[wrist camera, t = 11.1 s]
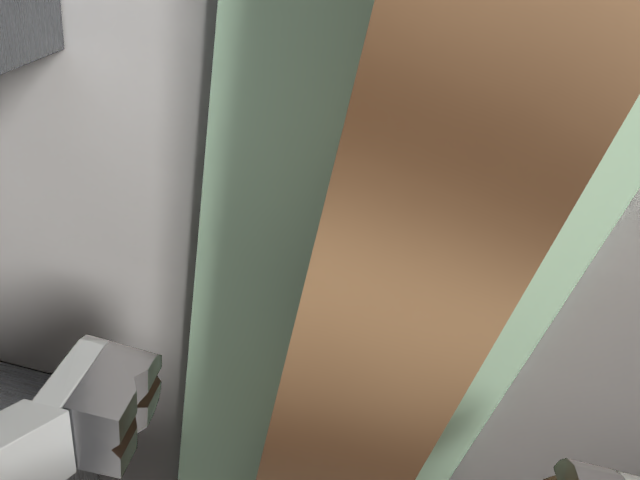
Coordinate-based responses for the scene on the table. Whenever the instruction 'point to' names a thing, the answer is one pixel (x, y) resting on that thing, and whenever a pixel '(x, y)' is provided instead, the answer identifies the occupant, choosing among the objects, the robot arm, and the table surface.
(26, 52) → the stand
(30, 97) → the table surface
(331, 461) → the rail
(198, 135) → the table surface
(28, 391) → the stand
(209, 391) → the mat
